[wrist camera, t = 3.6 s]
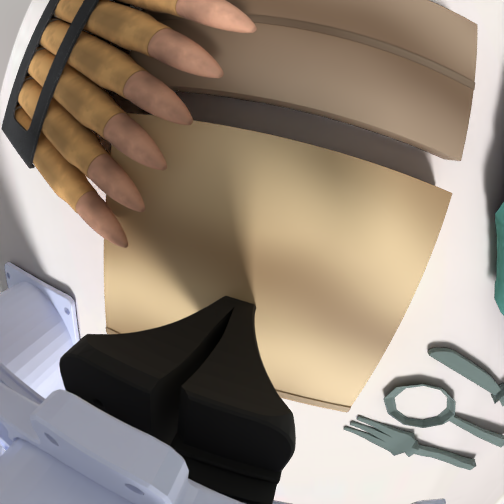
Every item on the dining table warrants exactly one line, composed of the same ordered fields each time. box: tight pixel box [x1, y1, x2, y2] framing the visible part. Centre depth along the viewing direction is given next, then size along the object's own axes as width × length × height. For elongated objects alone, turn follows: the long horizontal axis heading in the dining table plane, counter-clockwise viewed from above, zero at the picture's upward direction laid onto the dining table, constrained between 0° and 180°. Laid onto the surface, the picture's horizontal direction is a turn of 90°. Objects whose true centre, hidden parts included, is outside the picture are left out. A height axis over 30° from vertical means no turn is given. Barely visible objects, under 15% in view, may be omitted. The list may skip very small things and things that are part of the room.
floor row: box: [130, 0, 477, 161], centre depth 9 cm, size 6×13×2 cm, turn 78°
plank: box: [104, 113, 452, 412], centre depth 12 cm, size 11×13×2 cm
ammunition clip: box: [2, 0, 257, 248], centre depth 9 cm, size 11×2×12 cm
